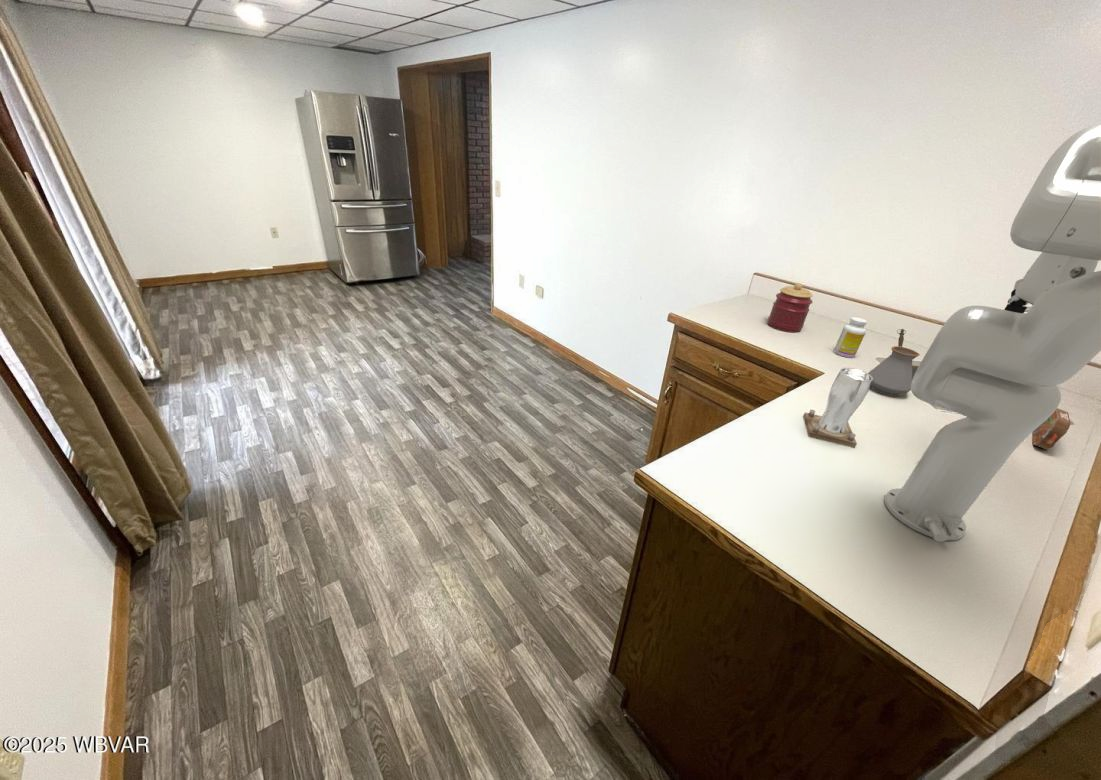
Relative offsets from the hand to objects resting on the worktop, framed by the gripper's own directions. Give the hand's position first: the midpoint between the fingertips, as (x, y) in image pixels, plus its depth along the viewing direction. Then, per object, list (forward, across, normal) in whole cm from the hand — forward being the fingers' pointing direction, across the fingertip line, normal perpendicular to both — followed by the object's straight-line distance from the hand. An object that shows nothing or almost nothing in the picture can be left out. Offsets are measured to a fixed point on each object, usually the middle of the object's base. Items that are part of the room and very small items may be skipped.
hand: (1018, 330), depth 89 cm
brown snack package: (+31, +15, -27) cm, 44 cm away
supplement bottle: (+31, +54, +10) cm, 63 cm away
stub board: (+30, -5, +26) cm, 40 cm away
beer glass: (+29, -5, +26) cm, 39 cm away
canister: (+31, +73, +28) cm, 84 cm away
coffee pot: (+31, +34, +4) cm, 46 cm away
